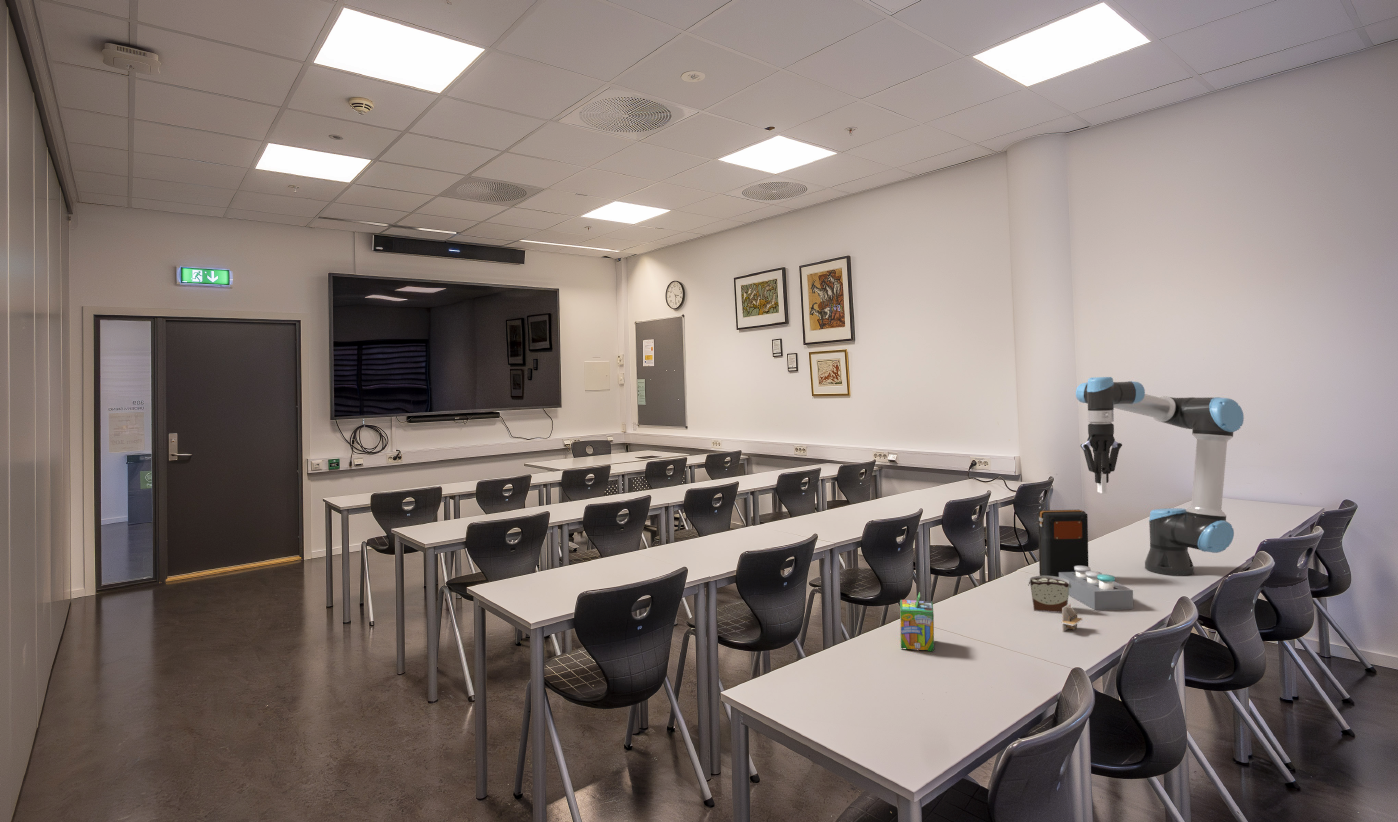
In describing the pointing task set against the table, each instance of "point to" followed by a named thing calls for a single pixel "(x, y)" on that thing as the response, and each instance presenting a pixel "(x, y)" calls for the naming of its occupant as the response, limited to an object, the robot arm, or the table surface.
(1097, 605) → the panel
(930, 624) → the chalk box
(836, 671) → the table surface
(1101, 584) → the teal plug
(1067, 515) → the voltmeter
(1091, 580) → the grey plug middle
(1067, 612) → the architectural model
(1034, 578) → the food container
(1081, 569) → the grey plug end
